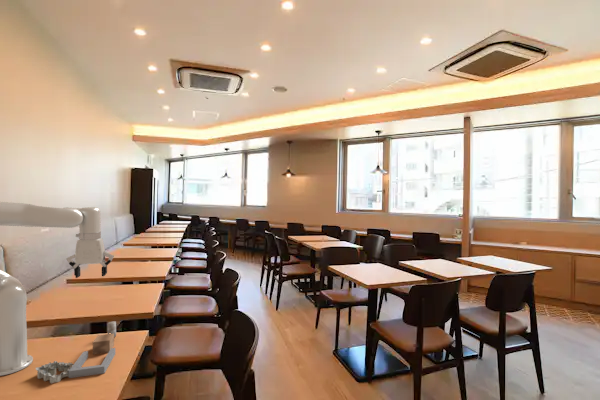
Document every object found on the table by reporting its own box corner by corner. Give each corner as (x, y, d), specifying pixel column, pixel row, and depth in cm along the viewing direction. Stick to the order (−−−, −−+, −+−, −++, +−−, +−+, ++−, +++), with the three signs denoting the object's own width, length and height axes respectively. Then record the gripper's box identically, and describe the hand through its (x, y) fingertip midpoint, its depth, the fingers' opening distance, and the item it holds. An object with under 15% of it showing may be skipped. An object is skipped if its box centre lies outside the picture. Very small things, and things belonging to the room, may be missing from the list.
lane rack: (68, 378, 110) (68, 371, 109) (83, 357, 123) (83, 351, 122) (104, 373, 113) (104, 366, 112) (115, 353, 126) (115, 347, 125)
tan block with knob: (92, 354, 125) (92, 338, 125) (105, 336, 140) (105, 322, 140) (109, 352, 127) (109, 336, 126) (120, 334, 142) (120, 320, 141)
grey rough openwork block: (75, 374, 112) (75, 363, 112) (51, 386, 105) (51, 374, 105) (58, 366, 117) (57, 356, 117) (34, 377, 110) (33, 366, 110)
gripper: (62, 238, 128) (63, 280, 128) (110, 237, 132) (111, 277, 133) (70, 235, 135) (71, 275, 136) (115, 234, 140) (116, 272, 140)
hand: (91, 276), depth 134 cm, fingers open, 9 cm apart
